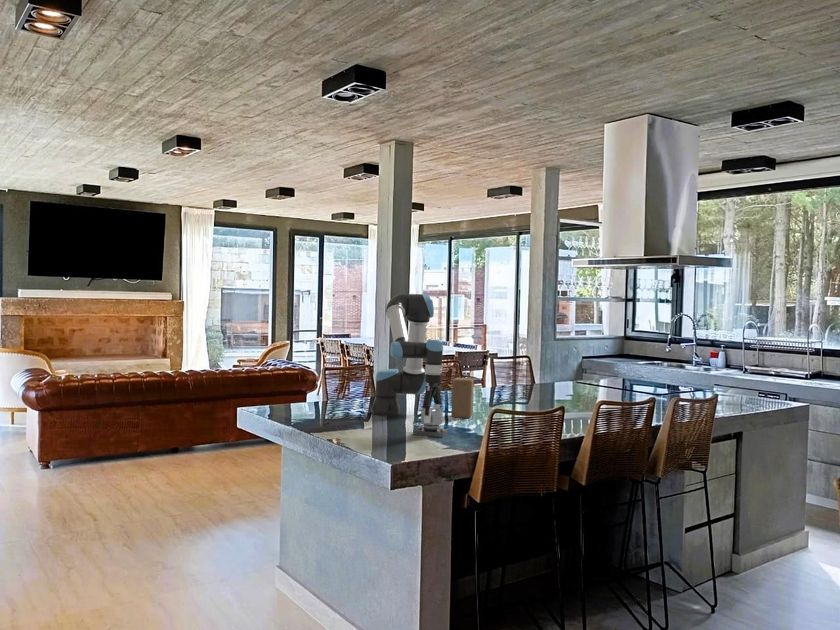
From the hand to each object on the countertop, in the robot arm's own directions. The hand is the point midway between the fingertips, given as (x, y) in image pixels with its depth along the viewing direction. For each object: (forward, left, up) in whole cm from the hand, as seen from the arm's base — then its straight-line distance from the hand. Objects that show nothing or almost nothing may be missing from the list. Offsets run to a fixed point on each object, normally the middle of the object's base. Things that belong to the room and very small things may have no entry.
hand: (431, 420), depth 321 cm
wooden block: (0, +54, -6) cm, 55 cm away
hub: (0, 0, -1) cm, 1 cm away
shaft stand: (0, 0, -6) cm, 6 cm away
